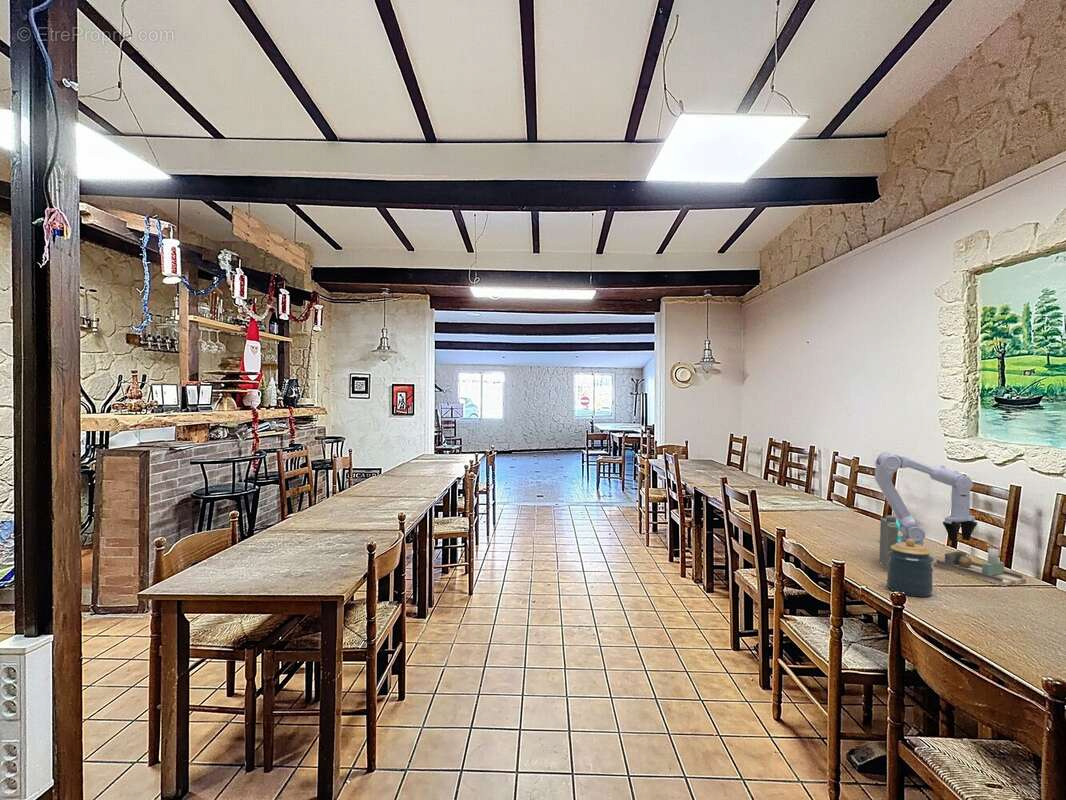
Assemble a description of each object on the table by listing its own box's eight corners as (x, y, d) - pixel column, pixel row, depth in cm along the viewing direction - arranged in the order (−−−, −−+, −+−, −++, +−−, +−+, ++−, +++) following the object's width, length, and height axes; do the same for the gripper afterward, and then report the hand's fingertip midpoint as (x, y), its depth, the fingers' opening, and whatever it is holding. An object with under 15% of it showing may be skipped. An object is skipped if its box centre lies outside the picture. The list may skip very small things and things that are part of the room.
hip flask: (878, 561, 224) (880, 511, 223) (890, 562, 222) (891, 512, 222) (887, 573, 209) (889, 519, 209) (900, 575, 207) (901, 520, 207)
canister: (922, 586, 196) (923, 535, 195) (940, 599, 183) (941, 545, 183) (880, 582, 199) (881, 532, 198) (895, 595, 186) (896, 542, 186)
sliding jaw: (989, 576, 202) (990, 551, 202) (980, 573, 205) (981, 549, 204) (1005, 574, 205) (1006, 549, 205) (996, 571, 208) (997, 547, 208)
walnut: (967, 568, 211) (967, 558, 211) (956, 565, 215) (956, 555, 215) (974, 567, 212) (974, 557, 212) (963, 564, 216) (963, 554, 216)
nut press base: (1004, 586, 196) (1004, 570, 196) (933, 566, 219) (934, 551, 218) (1025, 583, 200) (1026, 567, 200) (954, 563, 223) (955, 549, 223)
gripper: (958, 508, 211) (957, 544, 211) (984, 506, 216) (983, 541, 216) (939, 505, 218) (938, 540, 218) (964, 502, 223) (963, 537, 223)
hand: (959, 540), depth 218 cm, fingers open, 7 cm apart
